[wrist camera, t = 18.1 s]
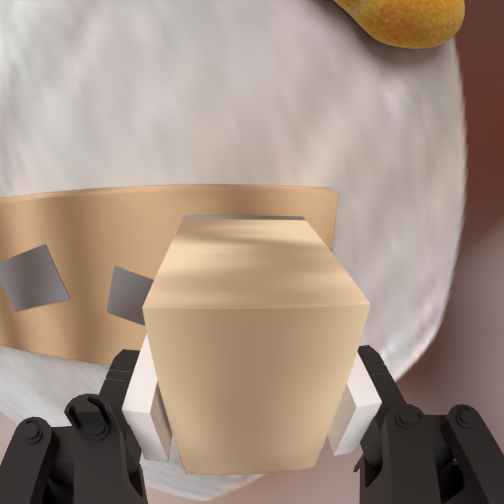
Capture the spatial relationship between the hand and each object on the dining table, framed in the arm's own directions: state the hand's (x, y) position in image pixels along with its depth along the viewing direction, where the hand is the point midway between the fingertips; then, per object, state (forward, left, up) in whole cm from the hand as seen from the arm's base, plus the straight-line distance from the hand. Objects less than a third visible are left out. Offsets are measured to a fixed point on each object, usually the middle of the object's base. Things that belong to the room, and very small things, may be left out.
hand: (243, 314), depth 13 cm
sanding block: (0, 0, -1) cm, 1 cm away
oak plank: (-9, 0, -3) cm, 9 cm away
